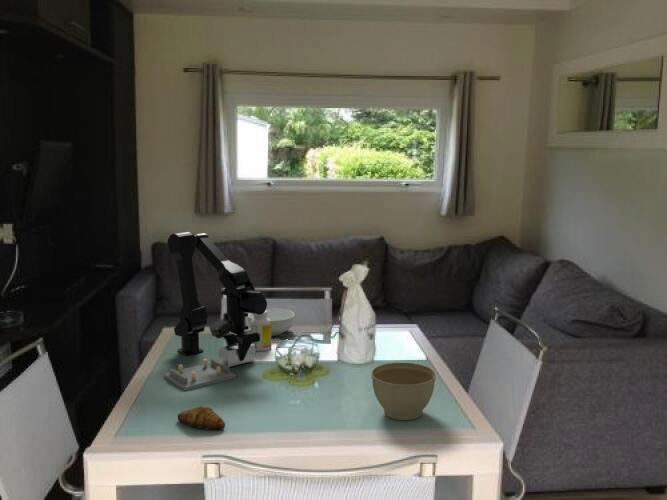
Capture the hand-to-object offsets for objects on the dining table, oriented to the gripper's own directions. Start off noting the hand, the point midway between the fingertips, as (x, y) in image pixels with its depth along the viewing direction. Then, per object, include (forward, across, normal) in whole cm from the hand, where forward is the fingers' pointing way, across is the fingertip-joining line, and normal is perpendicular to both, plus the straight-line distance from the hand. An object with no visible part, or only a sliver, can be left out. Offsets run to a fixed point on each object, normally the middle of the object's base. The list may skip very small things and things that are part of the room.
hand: (237, 358), depth 204 cm
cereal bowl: (+2, -22, +27) cm, 35 cm away
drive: (+1, 0, 0) cm, 1 cm away
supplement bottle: (+2, -8, +14) cm, 16 cm away
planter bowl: (+2, +60, +13) cm, 61 cm away
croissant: (+2, +34, -30) cm, 45 cm away
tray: (+2, +4, -15) cm, 16 cm away
